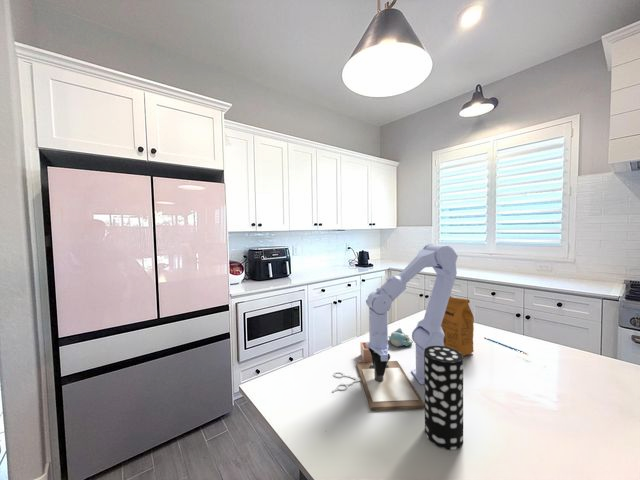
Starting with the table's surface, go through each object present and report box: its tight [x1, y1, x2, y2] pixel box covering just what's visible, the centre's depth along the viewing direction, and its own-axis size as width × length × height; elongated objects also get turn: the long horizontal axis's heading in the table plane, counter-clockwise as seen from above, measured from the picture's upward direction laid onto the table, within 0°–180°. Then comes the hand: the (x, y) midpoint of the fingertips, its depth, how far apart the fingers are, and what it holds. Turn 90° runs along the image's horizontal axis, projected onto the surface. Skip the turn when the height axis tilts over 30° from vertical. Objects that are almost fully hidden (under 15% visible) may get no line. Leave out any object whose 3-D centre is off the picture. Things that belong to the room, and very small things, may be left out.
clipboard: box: [356, 360, 425, 412], centre depth 84 cm, size 15×24×2 cm, turn 1°
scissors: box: [331, 371, 362, 393], centre depth 86 cm, size 11×1×20 cm
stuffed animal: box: [388, 327, 414, 347], centre depth 113 cm, size 11×7×12 cm
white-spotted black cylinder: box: [423, 346, 464, 451], centre depth 62 cm, size 8×8×20 cm
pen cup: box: [360, 341, 373, 362], centre depth 100 cm, size 6×6×5 cm
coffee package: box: [441, 295, 475, 357], centre depth 105 cm, size 10×12×22 cm
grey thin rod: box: [484, 336, 528, 355], centre depth 108 cm, size 1×17×1 cm, turn 24°
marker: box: [374, 351, 383, 382], centre depth 84 cm, size 3×3×9 cm
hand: (379, 372), depth 84 cm, fingers closed on marker, 3 cm apart
